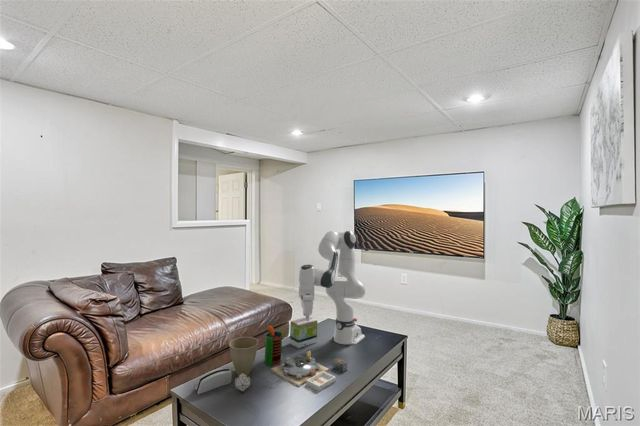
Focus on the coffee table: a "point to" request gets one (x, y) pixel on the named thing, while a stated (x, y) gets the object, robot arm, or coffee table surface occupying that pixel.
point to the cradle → (321, 381)
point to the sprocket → (300, 366)
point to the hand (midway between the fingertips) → (306, 318)
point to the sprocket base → (294, 379)
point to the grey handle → (213, 380)
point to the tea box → (303, 332)
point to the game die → (242, 382)
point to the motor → (273, 347)
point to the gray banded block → (340, 364)
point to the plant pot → (243, 353)
